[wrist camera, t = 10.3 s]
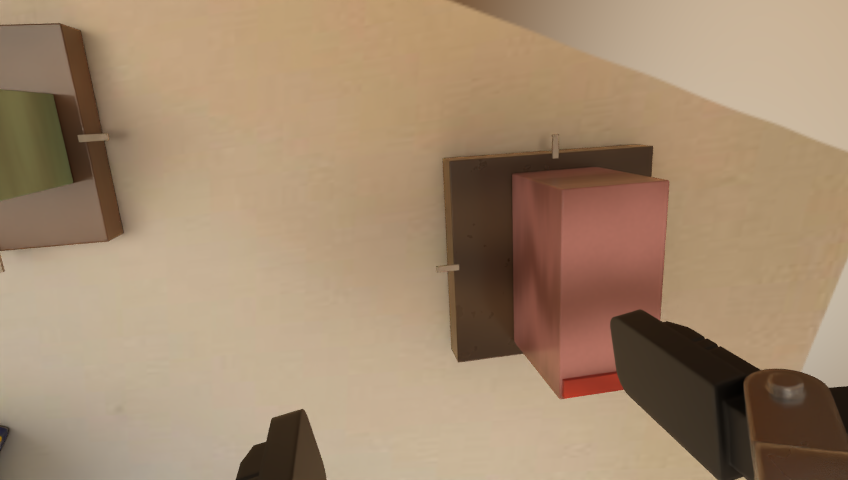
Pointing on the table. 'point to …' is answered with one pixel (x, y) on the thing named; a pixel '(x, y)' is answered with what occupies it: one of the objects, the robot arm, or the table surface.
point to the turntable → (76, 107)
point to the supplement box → (3, 435)
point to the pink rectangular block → (583, 268)
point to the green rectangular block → (30, 144)
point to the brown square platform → (500, 237)
